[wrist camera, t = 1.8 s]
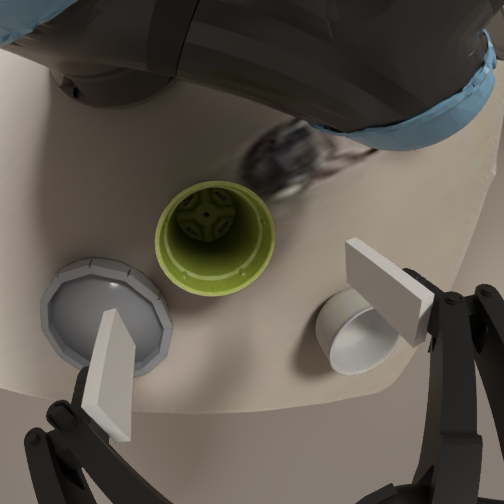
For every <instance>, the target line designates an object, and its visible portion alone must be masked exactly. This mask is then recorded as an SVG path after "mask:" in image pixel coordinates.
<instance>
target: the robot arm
mask: <svg viewBox="0 0 504 504" xmlns="http://www.w3.org/2000/svg"><path fill="white" fill-rule="evenodd" d="M503 5H504V0H0V48H1V49H3V50H6V51H9V52H11V53H14V54H17V55H19V56H22V57H24V58H27V59H29V60H32V61H34V62H37V63H39V64H41V65H44V66H46V67H49V68H50V71H51V74H52V76H53V78H54V80H55V82H56V83H57V85H58V86H59V87H60V88H61V90H62V91H63V92H65V93H66V94H67V95H68V96H69V97H71V98H72V99H74V100H76V101H78V102H80V103H83V104H85V105H89V106H93V107H97V108H103V109H120V108H127V107H131V106H135V105H138V104H141V103H144V102H146V101H149V100H151V99H153V98H155V97H156V96H158V95H160V94H161V93H163V92H164V91H166V90H167V89H168V88H170V87H171V86H172V85H173V84H174V83H175V82H176V81H177V80H178V79H179V80H183V81H187V82H191V83H195V84H198V85H202V86H206V87H209V88H213V89H216V90H220V91H223V92H226V93H229V94H233V95H236V96H239V97H242V98H245V99H248V100H251V101H254V102H257V103H260V104H262V105H265V106H268V107H271V108H274V109H276V110H279V111H282V112H284V113H287V114H289V115H292V116H294V117H297V118H299V119H302V120H304V121H307V122H308V123H309V124H310V125H311V126H312V127H313V128H316V129H318V130H320V131H322V132H325V133H328V134H331V135H337V136H345V137H347V138H349V139H352V140H354V141H356V142H359V143H361V144H363V145H366V146H368V147H371V148H375V149H380V150H389V151H409V150H416V149H421V148H424V147H428V146H430V145H433V144H436V143H438V142H441V141H443V140H445V139H446V138H448V137H450V136H452V135H453V134H455V133H456V132H458V131H459V130H461V129H462V128H463V127H465V126H466V125H467V124H468V123H469V122H470V121H472V120H473V118H474V117H475V116H476V115H477V114H478V113H479V112H480V111H481V109H482V108H483V106H484V105H485V103H486V102H487V100H488V98H489V97H490V95H491V92H492V90H493V87H494V84H495V77H494V75H493V69H495V68H496V64H497V61H496V54H495V51H494V48H493V45H492V43H491V40H490V37H489V34H488V32H487V31H486V30H485V29H484V28H485V27H486V26H487V25H488V24H489V22H490V21H491V20H492V19H493V17H494V16H495V15H496V14H497V13H498V11H499V10H500V9H501V8H502V7H503ZM345 251H346V272H347V282H348V283H349V284H350V285H351V286H352V287H353V288H354V289H355V290H356V291H357V292H358V293H359V294H360V295H361V296H362V297H363V298H364V299H365V300H366V301H367V302H368V303H369V304H370V305H371V306H372V307H373V308H374V309H375V310H376V311H377V312H378V313H379V314H380V315H381V316H382V317H383V318H384V319H385V320H386V321H387V322H388V323H389V324H390V325H391V326H392V327H393V328H394V329H395V330H396V331H397V332H398V333H399V334H400V335H401V336H402V337H403V338H404V339H405V340H406V341H407V342H408V343H409V344H410V345H411V346H412V347H415V346H417V345H419V344H421V343H422V342H424V341H425V339H426V334H427V332H428V333H429V334H431V335H432V338H431V342H430V346H429V350H428V352H430V377H429V392H428V403H427V413H426V421H425V429H424V436H423V442H422V449H421V454H420V459H419V464H418V467H417V470H416V472H415V475H414V478H413V481H412V484H406V485H399V486H395V487H394V486H393V484H392V483H390V484H388V485H386V486H385V487H383V488H381V489H379V490H377V491H375V492H373V493H371V494H369V495H367V496H365V497H364V498H362V499H361V500H360V501H358V502H357V503H356V504H504V501H502V500H494V499H488V498H480V497H478V490H479V482H480V473H481V462H482V446H483V443H482V437H481V435H478V434H477V397H476V396H477V395H476V376H475V364H474V360H475V362H476V365H477V368H478V370H479V373H480V376H481V379H482V382H483V385H484V388H485V391H486V394H487V397H488V401H489V404H490V408H491V411H492V414H493V418H494V422H495V426H496V430H497V434H498V438H499V443H500V447H501V452H502V456H503V459H504V300H503V298H502V297H501V295H500V294H499V292H498V291H497V290H496V288H494V287H493V286H491V285H488V284H481V285H478V286H477V287H476V290H475V294H474V295H470V296H466V297H463V296H462V295H461V294H459V293H457V292H445V293H444V292H443V291H442V290H440V289H439V288H438V287H436V286H435V285H433V284H432V283H431V282H429V281H428V280H426V279H425V278H424V277H421V275H420V274H418V273H417V272H415V271H414V270H411V269H408V268H404V269H400V268H399V267H397V266H396V265H395V264H393V263H392V262H391V261H389V260H388V259H386V258H385V257H384V256H382V255H381V254H379V253H378V252H376V251H375V250H374V249H372V248H371V247H369V246H368V245H366V244H365V243H363V242H362V241H361V240H359V239H358V238H353V239H350V240H346V241H345ZM135 348H136V345H135V343H134V342H133V340H132V338H131V336H130V334H129V332H128V330H127V329H126V327H125V325H124V323H123V321H122V319H121V317H120V315H119V313H118V311H117V309H116V308H114V309H111V310H107V311H104V313H103V316H102V320H101V323H100V327H99V331H98V334H97V338H96V342H95V346H94V350H93V354H92V358H91V362H90V366H86V367H83V368H82V369H81V371H80V372H79V374H78V376H77V380H76V385H75V389H74V390H75V391H74V393H73V397H72V402H71V404H70V403H69V402H68V401H66V400H59V401H56V402H55V403H53V404H52V405H51V406H50V407H49V409H48V411H47V414H46V418H47V421H48V422H49V423H50V424H51V425H52V426H53V427H54V428H55V430H52V431H50V432H48V433H46V432H44V431H43V430H42V429H41V428H37V427H36V428H33V429H31V430H30V431H29V432H28V433H27V434H26V436H25V439H24V446H25V452H26V457H27V462H28V465H29V471H30V475H31V479H32V483H33V487H34V490H35V494H36V497H37V500H38V503H39V504H97V503H96V501H95V499H94V497H93V495H92V492H91V490H90V488H89V486H88V483H87V481H86V479H85V476H84V474H83V472H82V469H81V468H82V467H83V468H84V469H85V471H86V472H87V473H88V474H89V476H90V477H91V478H92V479H93V481H94V482H95V483H96V484H97V486H98V487H99V488H100V489H101V490H102V492H103V493H104V494H105V495H106V496H107V497H108V498H109V499H110V501H111V502H112V503H113V504H173V503H171V502H170V501H169V500H168V499H167V498H165V497H164V496H163V495H162V494H161V493H159V492H158V491H157V490H156V489H155V488H154V487H153V486H151V485H150V484H149V483H148V482H147V481H146V480H145V479H144V478H143V477H141V476H140V475H139V474H138V473H137V472H136V471H135V470H134V469H133V468H132V467H131V466H130V465H129V464H128V463H127V462H126V461H125V460H124V459H123V458H122V457H121V456H120V455H119V454H118V453H117V452H116V451H115V450H114V449H113V447H111V446H110V445H109V437H110V438H111V439H112V440H113V441H114V442H115V443H120V442H129V441H131V409H132V388H133V373H134V360H135Z"/></svg>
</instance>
